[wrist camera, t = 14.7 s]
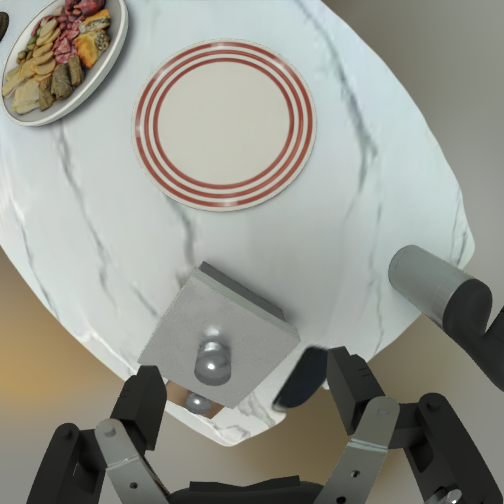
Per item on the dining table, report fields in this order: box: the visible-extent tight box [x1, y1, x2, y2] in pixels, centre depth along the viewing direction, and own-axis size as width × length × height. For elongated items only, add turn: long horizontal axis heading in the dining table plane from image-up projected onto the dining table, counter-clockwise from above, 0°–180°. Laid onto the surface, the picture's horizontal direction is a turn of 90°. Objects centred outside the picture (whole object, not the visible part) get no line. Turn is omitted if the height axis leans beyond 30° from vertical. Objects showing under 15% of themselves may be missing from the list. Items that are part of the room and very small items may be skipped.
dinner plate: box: [131, 39, 316, 212], centre depth 37 cm, size 27×27×3 cm
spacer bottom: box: [194, 342, 231, 386], centre depth 36 cm, size 5×5×4 cm
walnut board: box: [165, 380, 225, 419], centre depth 52 cm, size 13×13×2 cm
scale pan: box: [137, 267, 301, 409], centre depth 40 cm, size 18×18×3 cm
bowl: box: [0, 0, 128, 126], centre depth 28 cm, size 30×30×8 cm
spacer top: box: [185, 390, 211, 415], centre depth 49 cm, size 5×5×4 cm
